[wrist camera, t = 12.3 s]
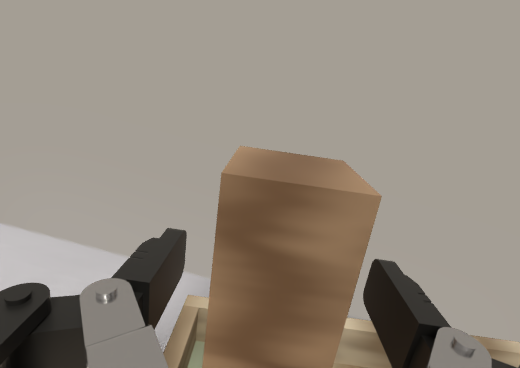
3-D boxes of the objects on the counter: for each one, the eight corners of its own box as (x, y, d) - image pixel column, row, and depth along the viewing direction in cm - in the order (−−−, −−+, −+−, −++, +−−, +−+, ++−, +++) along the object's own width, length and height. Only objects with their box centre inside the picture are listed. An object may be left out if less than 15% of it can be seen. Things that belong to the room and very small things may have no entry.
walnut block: (293, 376, 18) (343, 160, 13) (300, 479, 13) (381, 196, 9) (214, 364, 18) (239, 145, 13) (192, 463, 13) (221, 172, 9)
